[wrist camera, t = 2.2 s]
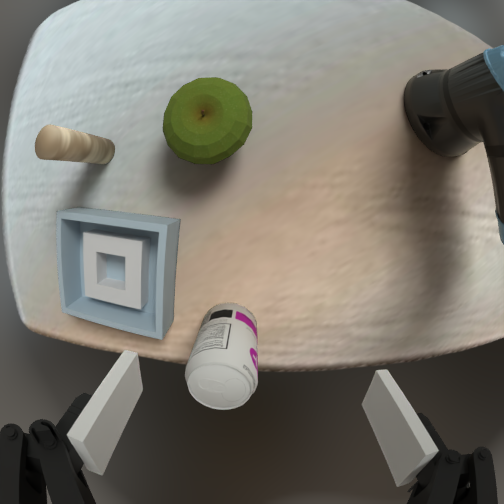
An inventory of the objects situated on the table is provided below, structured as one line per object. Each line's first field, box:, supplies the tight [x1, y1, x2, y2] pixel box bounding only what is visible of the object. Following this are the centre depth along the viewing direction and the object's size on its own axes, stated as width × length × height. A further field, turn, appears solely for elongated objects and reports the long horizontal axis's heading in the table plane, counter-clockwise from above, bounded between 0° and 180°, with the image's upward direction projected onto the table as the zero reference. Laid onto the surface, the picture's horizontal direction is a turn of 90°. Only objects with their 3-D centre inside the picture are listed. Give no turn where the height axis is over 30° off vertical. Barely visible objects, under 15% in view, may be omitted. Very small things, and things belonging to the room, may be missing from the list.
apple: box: [163, 77, 252, 164], centre depth 30 cm, size 11×10×10 cm
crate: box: [56, 207, 181, 340], centre depth 36 cm, size 16×18×6 cm
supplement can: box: [185, 303, 258, 410], centre depth 34 cm, size 8×8×15 cm
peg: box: [35, 125, 115, 164], centre depth 28 cm, size 4×4×14 cm
